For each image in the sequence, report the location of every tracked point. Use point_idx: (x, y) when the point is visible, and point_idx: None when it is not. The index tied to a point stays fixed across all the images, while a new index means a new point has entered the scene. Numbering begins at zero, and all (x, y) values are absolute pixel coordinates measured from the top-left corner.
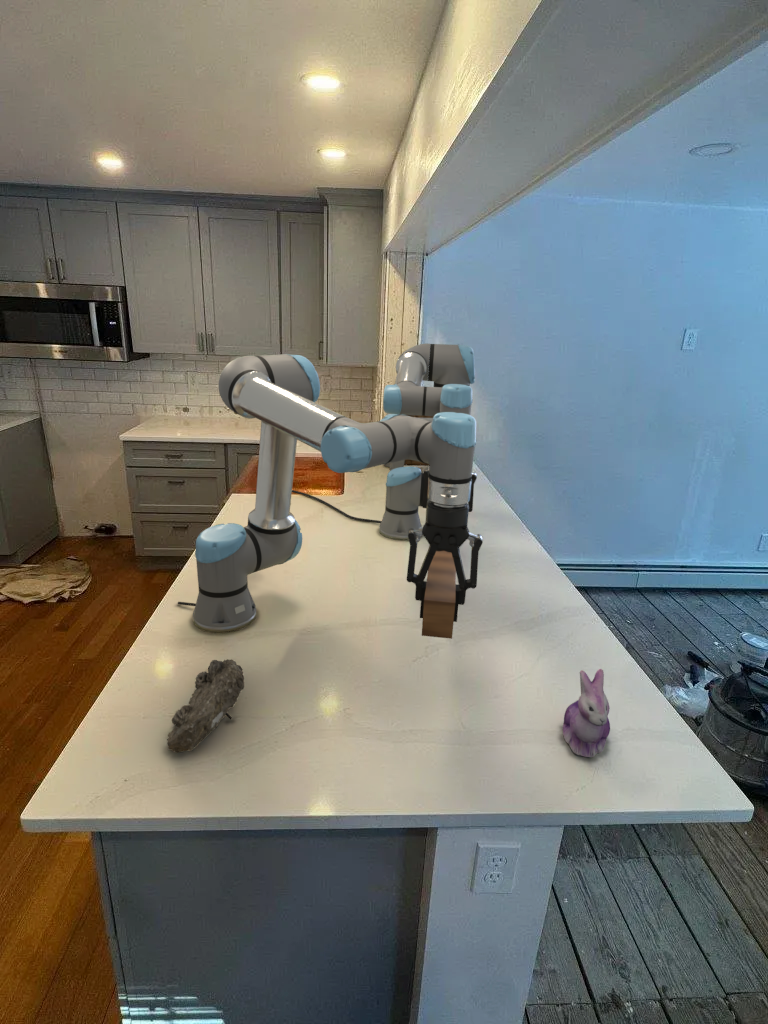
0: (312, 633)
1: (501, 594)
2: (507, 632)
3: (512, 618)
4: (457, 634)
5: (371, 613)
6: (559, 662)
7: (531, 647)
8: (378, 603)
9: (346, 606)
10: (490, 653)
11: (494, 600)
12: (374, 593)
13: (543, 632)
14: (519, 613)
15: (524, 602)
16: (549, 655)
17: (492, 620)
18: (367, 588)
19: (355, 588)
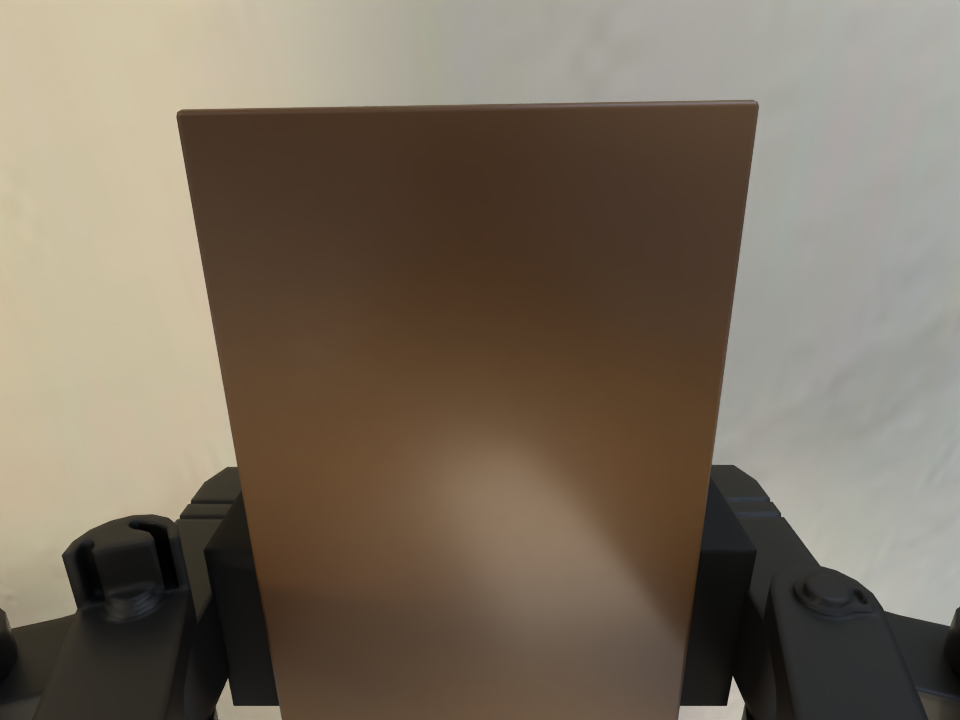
0: (29, 606)
1: (841, 91)
2: (778, 463)
3: (832, 347)
4: None
5: (186, 436)
6: (921, 604)
7: (848, 541)
8: (186, 345)
9: (55, 403)
10: None
11: (782, 179)
12: (131, 248)
13: (939, 433)
14: (882, 293)
15: (950, 165)
16: (900, 574)
17: (731, 383)
18: (73, 199)
19: (11, 215)
